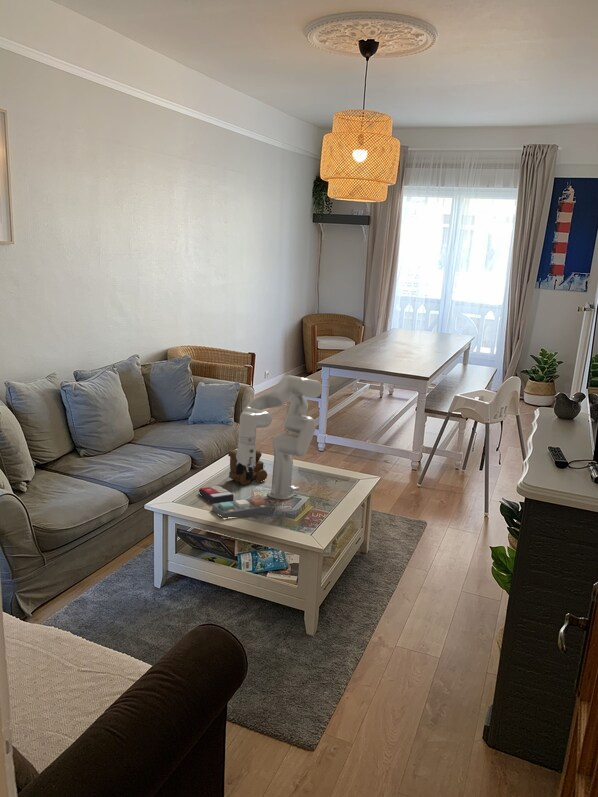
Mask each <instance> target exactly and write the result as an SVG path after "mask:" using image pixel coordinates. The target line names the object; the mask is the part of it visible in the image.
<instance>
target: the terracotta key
mask: <svg viewBox="0 0 598 797" xmlns="http://www.w3.org/2000/svg"><path fill="white" fill-rule="evenodd" d="M249 499H250V503H252V504H253V505H254V506H258V505H265V502H266V500H265V499H263V498H261V497H259V496H258V497H253V498H252V497H251V498H249Z"/></svg>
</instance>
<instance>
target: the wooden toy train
mask: <svg viewBox="0 0 598 797" xmlns="http://www.w3.org/2000/svg"><path fill="white" fill-rule="evenodd" d="M236 454H237V449H231V450H228V452H227V455H228V457H229V472H228V473H229V474H228V478H230V479H231V480H232V479H233V480H232V481H235V482H239V484H240V485H242V486H247V485H249V484H250V483H251V481H252V480H256V482H258V483H262V482H261V481H263V480H265V479H266V480H267V477H268V473H267V470H266V469H264V462H263V461H262V460H260V459H261V457H262V452H261V451H260V450H259V449H256V462H255V464H256V466H255V469H254V472H253V478H252V480H248V481H246V472H247V469H246V466H244V465H243V474H236V467H237V465H236V463H237V462H236ZM248 465H250V464H248ZM249 468H250V467H249ZM266 480H265V481H266ZM263 482H264V481H263Z"/></svg>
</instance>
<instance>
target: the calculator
mask: <svg viewBox="0 0 598 797" xmlns="http://www.w3.org/2000/svg"><path fill="white" fill-rule="evenodd" d="M199 492H200V494H201V495H202V496H201V498H203V499H205V500H206V501H208V503H210V504H211V505H212V504H215V503H222V502H230V501H234V494H233V493H232V492H230V491H228V490H227V489H226V488H223V487H222V486H220V485H214V486H210V487H209V486H207V487H200V488H198V493H199Z"/></svg>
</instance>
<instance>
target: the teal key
mask: <svg viewBox="0 0 598 797" xmlns="http://www.w3.org/2000/svg"><path fill="white" fill-rule="evenodd" d="M219 508H221V509H222V510H223V511H224V510H231V509H234V505H233V504H232V503H230V502H222V503H219Z"/></svg>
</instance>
